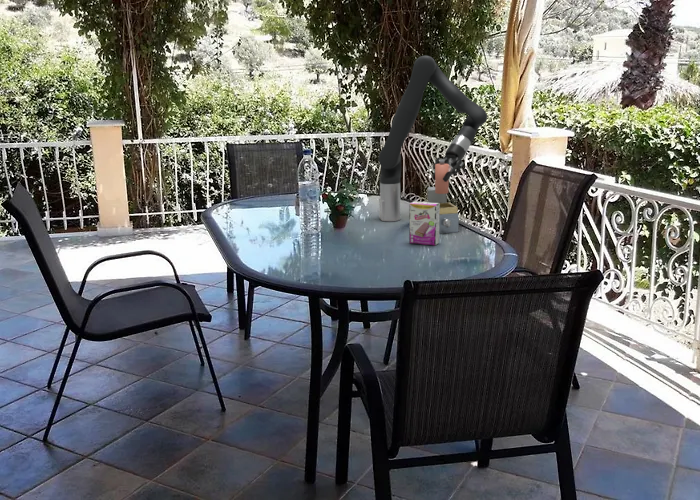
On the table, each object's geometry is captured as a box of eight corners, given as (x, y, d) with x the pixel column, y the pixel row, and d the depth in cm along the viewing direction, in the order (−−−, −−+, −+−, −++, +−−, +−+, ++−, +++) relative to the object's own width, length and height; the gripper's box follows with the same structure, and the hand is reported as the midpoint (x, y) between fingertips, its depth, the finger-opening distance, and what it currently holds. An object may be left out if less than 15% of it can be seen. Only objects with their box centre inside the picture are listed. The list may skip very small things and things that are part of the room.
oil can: (437, 194, 273) (437, 160, 269) (433, 191, 278) (433, 159, 274) (450, 193, 273) (450, 160, 270) (446, 191, 279) (446, 158, 275)
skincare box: (446, 220, 297) (446, 185, 292) (446, 223, 290) (447, 188, 285) (427, 220, 297) (427, 186, 293) (427, 223, 291) (428, 188, 286)
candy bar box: (408, 243, 259) (408, 203, 254) (413, 240, 263) (413, 200, 259) (435, 246, 254) (436, 205, 250) (439, 243, 259) (440, 202, 254)
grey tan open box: (434, 235, 271) (435, 210, 268) (423, 226, 287) (423, 202, 284) (460, 233, 273) (460, 208, 270) (447, 224, 288) (448, 201, 286)
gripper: (441, 141, 280) (422, 172, 276) (467, 143, 269) (447, 176, 265) (449, 152, 285) (430, 183, 281) (475, 155, 274) (456, 187, 270)
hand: (439, 179), depth 273 cm, fingers closed on oil can, 5 cm apart
